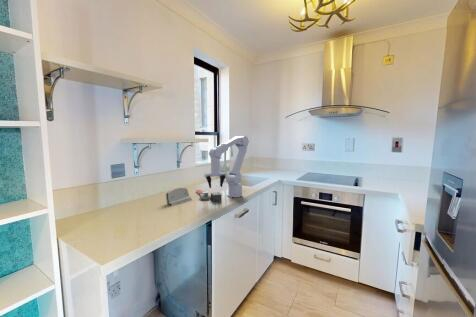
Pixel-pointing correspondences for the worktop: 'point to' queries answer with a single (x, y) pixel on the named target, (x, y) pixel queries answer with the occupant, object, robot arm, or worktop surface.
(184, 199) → the white electronic device
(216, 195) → the brushed grey cube
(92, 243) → the worktop surface
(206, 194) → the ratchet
